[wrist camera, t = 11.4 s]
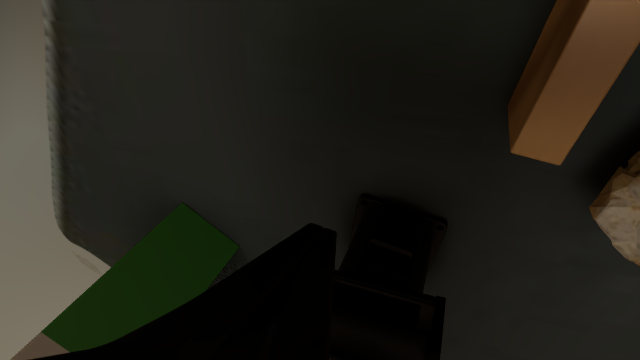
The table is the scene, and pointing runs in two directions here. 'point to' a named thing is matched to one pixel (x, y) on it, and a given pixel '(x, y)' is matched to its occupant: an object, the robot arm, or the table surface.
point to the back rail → (570, 74)
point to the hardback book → (139, 286)
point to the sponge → (621, 210)
